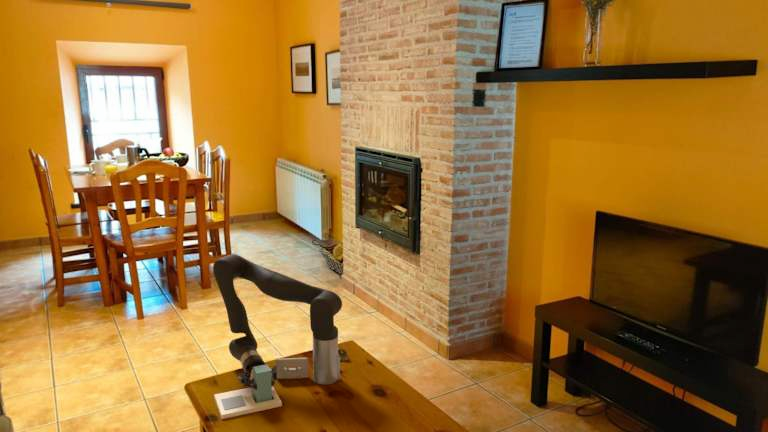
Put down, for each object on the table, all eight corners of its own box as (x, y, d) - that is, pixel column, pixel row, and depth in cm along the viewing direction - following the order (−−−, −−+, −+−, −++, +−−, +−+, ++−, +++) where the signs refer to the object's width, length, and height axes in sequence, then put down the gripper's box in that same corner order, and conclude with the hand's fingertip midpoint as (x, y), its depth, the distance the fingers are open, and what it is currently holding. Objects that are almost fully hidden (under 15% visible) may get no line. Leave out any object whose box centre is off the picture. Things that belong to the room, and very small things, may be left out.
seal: (309, 362, 230) (345, 366, 227) (308, 352, 229) (345, 356, 226) (316, 350, 239) (351, 353, 236) (316, 340, 238) (351, 343, 235)
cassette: (275, 379, 214) (275, 360, 212) (276, 377, 216) (275, 358, 214) (308, 378, 215) (308, 359, 214) (308, 375, 217) (308, 356, 216)
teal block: (268, 395, 202) (267, 364, 200) (271, 402, 198) (271, 370, 195) (254, 398, 200) (253, 366, 198) (257, 405, 196) (256, 373, 193)
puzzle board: (271, 387, 208) (271, 382, 208) (281, 406, 196) (281, 401, 195) (214, 398, 200) (214, 394, 199) (221, 419, 187) (221, 414, 187)
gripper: (232, 358, 206) (242, 379, 191) (272, 351, 212) (284, 371, 197) (233, 377, 208) (243, 400, 193) (272, 369, 214) (285, 391, 199)
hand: (264, 385), depth 195 cm, fingers closed on teal block, 5 cm apart
